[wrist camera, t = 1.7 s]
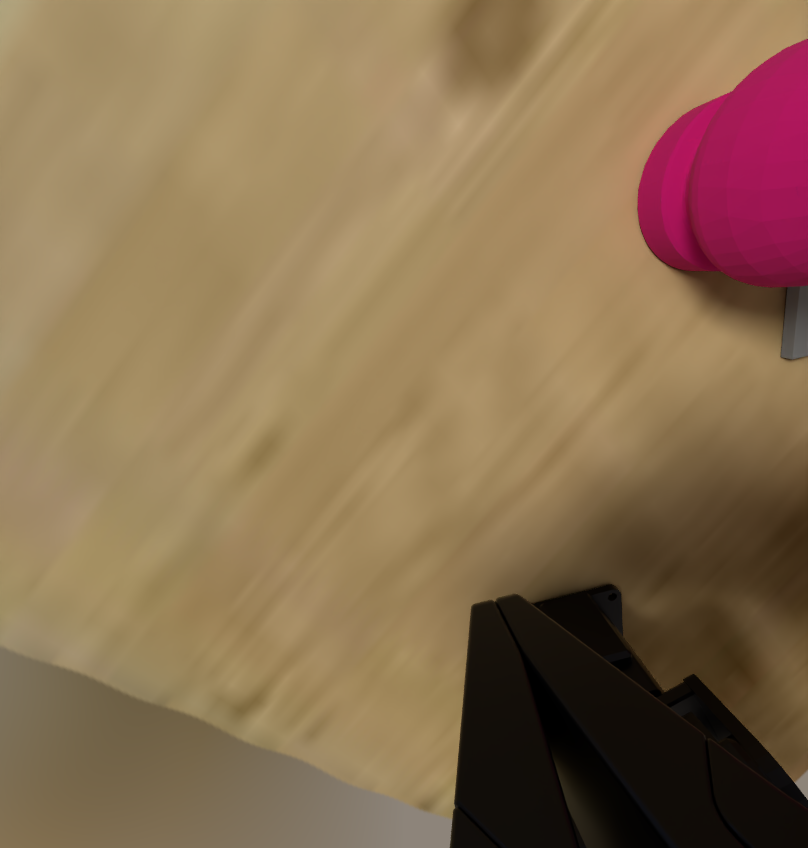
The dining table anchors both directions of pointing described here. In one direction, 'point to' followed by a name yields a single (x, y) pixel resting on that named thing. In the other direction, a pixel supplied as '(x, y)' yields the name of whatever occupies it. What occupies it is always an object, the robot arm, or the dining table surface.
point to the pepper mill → (736, 180)
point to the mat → (795, 323)
